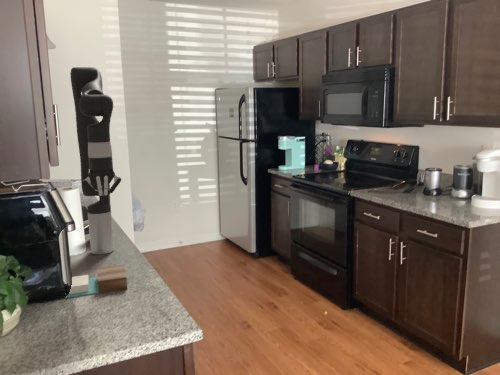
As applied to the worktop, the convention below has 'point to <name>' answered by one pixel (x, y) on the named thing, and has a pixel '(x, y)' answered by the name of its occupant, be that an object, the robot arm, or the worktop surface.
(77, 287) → the tile
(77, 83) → the robot arm
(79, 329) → the worktop surface
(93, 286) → the mat
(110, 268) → the board
